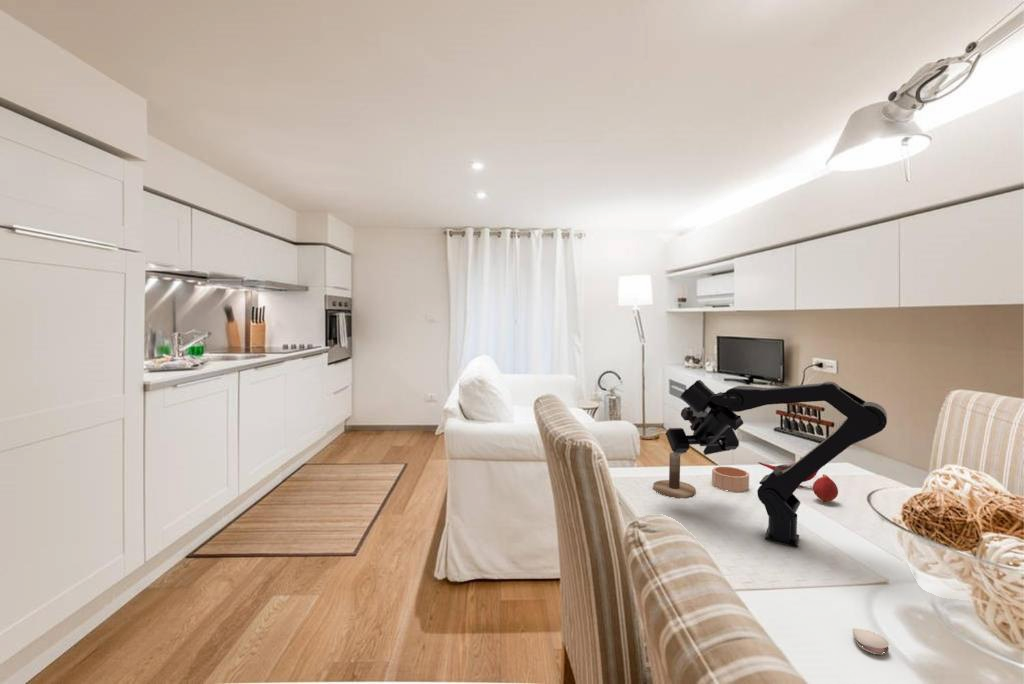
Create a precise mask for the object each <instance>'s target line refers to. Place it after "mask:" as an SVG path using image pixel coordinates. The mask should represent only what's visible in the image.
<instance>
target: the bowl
mask: <svg viewBox="0 0 1024 684" xmlns="http://www.w3.org/2000/svg"><path fill="white" fill-rule="evenodd" d="M711 474H712V475H711V483H712V486H713V485H714V486H713V487H715V488H716V487H717V488H716V489H718V488H720V489H719V490H721V489H723V490H722V491H725V490H728V491H727V492H730V491H733V492H732V493H744V492H743V491H745V492H747V490H748V491H749V487H750V473H749V472H748V471H746V470H744V469H742V468H737V467H733V466H722V465H721V466H715V467H714V466H713V468H712V470H711Z"/></svg>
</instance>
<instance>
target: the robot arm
mask: <svg viewBox="0 0 1024 684" xmlns="http://www.w3.org/2000/svg"><path fill="white" fill-rule="evenodd" d="M679 398H680V399H681V400H682V401H683V402H684V403H686V405H688V406H687V407H686V406H685V407H683V408H682V410H681V411H680V412H681V413H680V417H681V418H682V419H683V420H684V421H688V422H689V423H690V426H689V428H690V429H691V431H693V432H692V435H691V434H690V435H689V434H688V435H686V432H685V430H684V428H682V427H669V428H668V429H667V431H666V432H665V436H666V439H667V440H668V444H669V446H670V449H671V451H672V453H673V454H674V456H679V455H680V456H682V455H683V454H686V453H688V452H687V451H689V449H690V446H691V445H692V446H694V445H696V446H697V445H698V446H700V447H705V448H704V450H703V454H704V456H708V455H712V454H718V453H722V452H727V451H731V450H732V451H733V450H737V448H738V447H739V446H740V441H739V439H738V437H737V436H738V435H736V433H735V431H737V430H738V429H739V428H740V427H741V426H743V425H744V420H743V419H742V416H741V415H739V414H738V415H737V414H736V413H738V412H744V411H748V410H753V409H757V408H760V407H764V406H767V405H781V404H782V405H783V404H784V405H785V404H796V403H797V404H798V403H811V402H812V403H813V402H814V403H815V402H826V403H828V404H829V405H830V406H832V407H833V408H834V409H835V410H837V411H838V412H839V413H840V414H842V415H843V416H845V417H846V418H844V419H845V420H844V421H842V423H841V424H840V426H839V427H838V428H837V429H836V430H835V431H834V432H832V433H831V434H830V435H829V436H827V437H826V438H825V439H824V440H822V441H821V442H820V443H819V444H818V445H816V446H814V448H812V449H810V451H809V452H808V453H806V454H805V455H803V456H802V457H801V458H800V459H798V461H796V462H794V463H795V464H794V465H792V466H791V467H790V468H788V469H785V470H783V471H781V470H780V469H779V467H776V468H775V469H774V470H772V471H771V473H769V474H766V475H764V476H763V478H762V479H761V480H760V482H758V483H759V484H760V486H759V487H758V488H757V490H756V493H757V497H758V501H760V502H761V504H762V505H764V508H765V511H766V513H767V514H766V515H767V516H768V525H767V526H768V527H767V528H766V532H765V535H764V539H765V540H766V541H769V542H773V543H778V544H782V545H785V546H790V547H794V548H798V547H799V540H800V535H799V534H798V514H797V511H798V509H799V507H800V506H801V501H800V500H799V498H798V497H797V496H796V495H795V494H794V493H795V491H797V489H798V488H799V487H798V486H799V485H802V483H804V482H803V481H805V480H806V479H807V478H809V477H810V476H811V475H813V474H814V473H815V472H816V471H818V472H819V471H820V470H821V469H822V468H823V467H825V466H824V465H828V463H829V462H831V461H832V460H833V459H835V458H836V457H837V456H838V455H840V454H842V452H844V451H845V450H847V449H848V448H850V446H852V445H854V444H857V443H859V442H862V441H864V440H867V439H868V438H870V437H872V436H875V435H877V434H879V433H880V432H882V431H883V430H884V429H885V428H886V426H887V424H888V423H887V422H888V413H887V411H886V409H885V408H884V407H883V406H882V405H880V404H878V403H877V402H872V401H865V400H864V399H862V398H861V397H859V396H857V395H855V394H854V393H853V392H850V391H848V390H846V389H845V388H843V387H842V386H839V384H838V383H836V382H833V381H825V382H822V383H821V382H820V383H811V384H800V385H788V386H778V387H776V386H775V387H759V386H751V385H750V386H749V385H736V386H734V387H731V388H729V389H727V390H726V391H725V392H724V391H723V392H722V391H719V392H717V393H715V392H714V391H713V390H711V388H709V387H708V386H707V385H706V384H705V382H704V381H702V380H701V379H697V380H696V381H694V383H692V385H690V386H689V387H688V388H685V390H684V391H683V392H682V393H681V395H680V396H679ZM709 409H710V410H709ZM708 410H709V411H708ZM735 412H736V413H735ZM819 469H820V470H819Z"/></svg>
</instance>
